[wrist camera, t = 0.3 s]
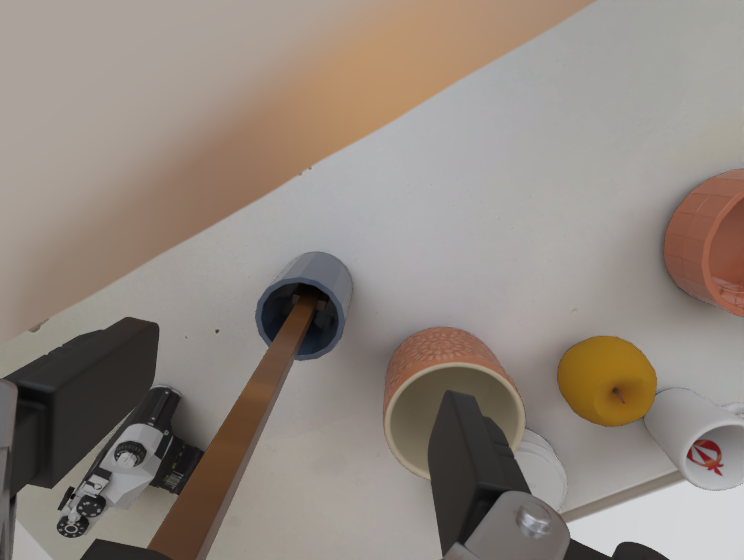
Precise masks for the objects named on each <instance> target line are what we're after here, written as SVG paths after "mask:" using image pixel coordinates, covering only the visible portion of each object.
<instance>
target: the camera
mask: <svg viewBox="0 0 744 560" xmlns="http://www.w3.org/2000/svg"><path fill="white" fill-rule="evenodd" d="M181 396H182V395H181V394H180V393H179V392H178V391H176V390H174V389H172V388H170V387H168V386H162V385H157V386H154V387H152V388H150V390H149V392H148V394H147V395H146V397H145V398H144V399H143V400H142V401H141V402H140V403H139V404H138V405H137V406H136V407H135V408H134V410H133V411H132V412H131V413H130V415H129V416H128V417H127V418H126V420H125V421H124V422H123V424H122V425H121V426H120V427H119V429H118V430H117V431H116V432H115V434H114V435H113V436H112V437H111V439H110V440H109V441H108V442H107V444H106V445H105V446H104V447H103V449H102V450H101V451H100V453H99V454H98V456H97V457H96V459H95V461H94V463H93V464H92V466H91V467H90V469H89V471H88V472H87V474H86V475H85V477H84V479H83V480H82V482H81V484H80V485H79V487H78V488H77V490H76V492H75V493H74V494H72V493H73V491H74V489H75V488H73V487H71V486H70V487H69V488H68V490H67V491H66V493H65V495H64V498H63V500H62V502H61V504H60V505H59V507H58V510H63V512H62V514H61V515H60V517H59V522H58V524H57V530H58V531H59V533H60V534H61V535H63V536H65V537H69V538H75V537H79V536H81V535H86V534H87V533H88V532H89V530H90V529H91V528H92V527H93V526H94V525H95V523H96V522H97V521H98V520H99V519H100V517H101V516H102V515H103V514H104V513H105V511H106V510H107V509H108V508H109V507H114V508H121V509H128V508H129V507H130V505H131V504H132V503H133V502H134V501H135V500H136V498H137V497H138V496H139V495H140V494H141V493H142V491H143V490H144V489H145V488H146V487H147V486H148V484H149V485H151V486H154V487H158V488H159V487H161V488H164V489H166V490H168V491H169V492H170V493H172V494H174V493H175V494H177V495H178V496H179V495H180V493H181V491H182V490H183V488H184V486H185V485H186V483H187V482H188V480H189V478H190V477H191V475H192V473H193V472H194V470H195V468H196V467H197V465H198V463H199V462H200V460H201V459H202V457H203V455H204V454H205V452H203V451H200V450H199V449H198V448H196V447H195V448H194V447H192V446H190V445H188V444H186V443H185V442H184V441H183V440H181V439H179V438H177V437H175V436H173V432H172V427H171V422H170V419H171V417H172V415H173V413H174V411H175V409H176V407H177V404H178V402H179V400H180V398H181ZM71 494H72V495H71ZM70 496H71V497H70ZM69 498H70V501H69V502H68V504H66V503H67V501H68V500H69Z"/></svg>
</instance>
